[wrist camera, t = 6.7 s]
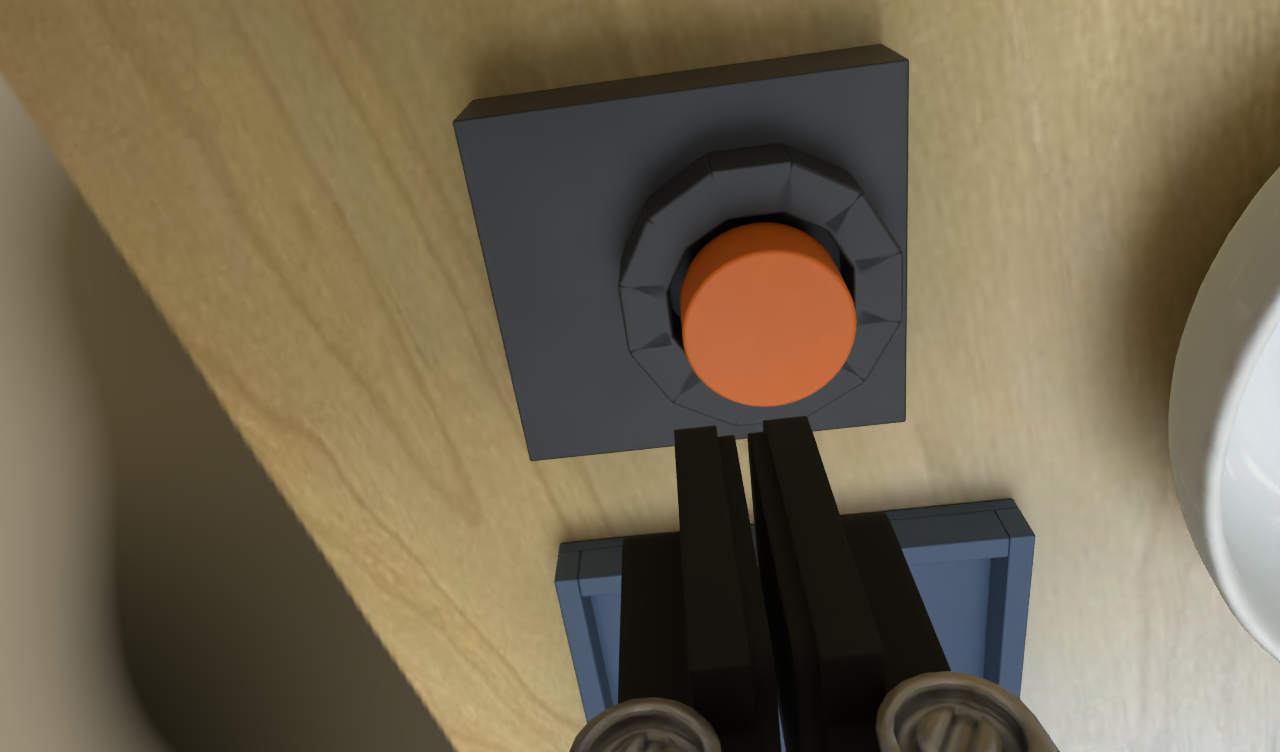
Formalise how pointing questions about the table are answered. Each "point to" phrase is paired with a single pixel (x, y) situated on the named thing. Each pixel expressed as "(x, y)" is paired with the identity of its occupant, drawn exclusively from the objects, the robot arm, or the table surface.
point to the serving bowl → (1235, 419)
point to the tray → (937, 557)
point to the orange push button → (766, 315)
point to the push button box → (684, 235)
